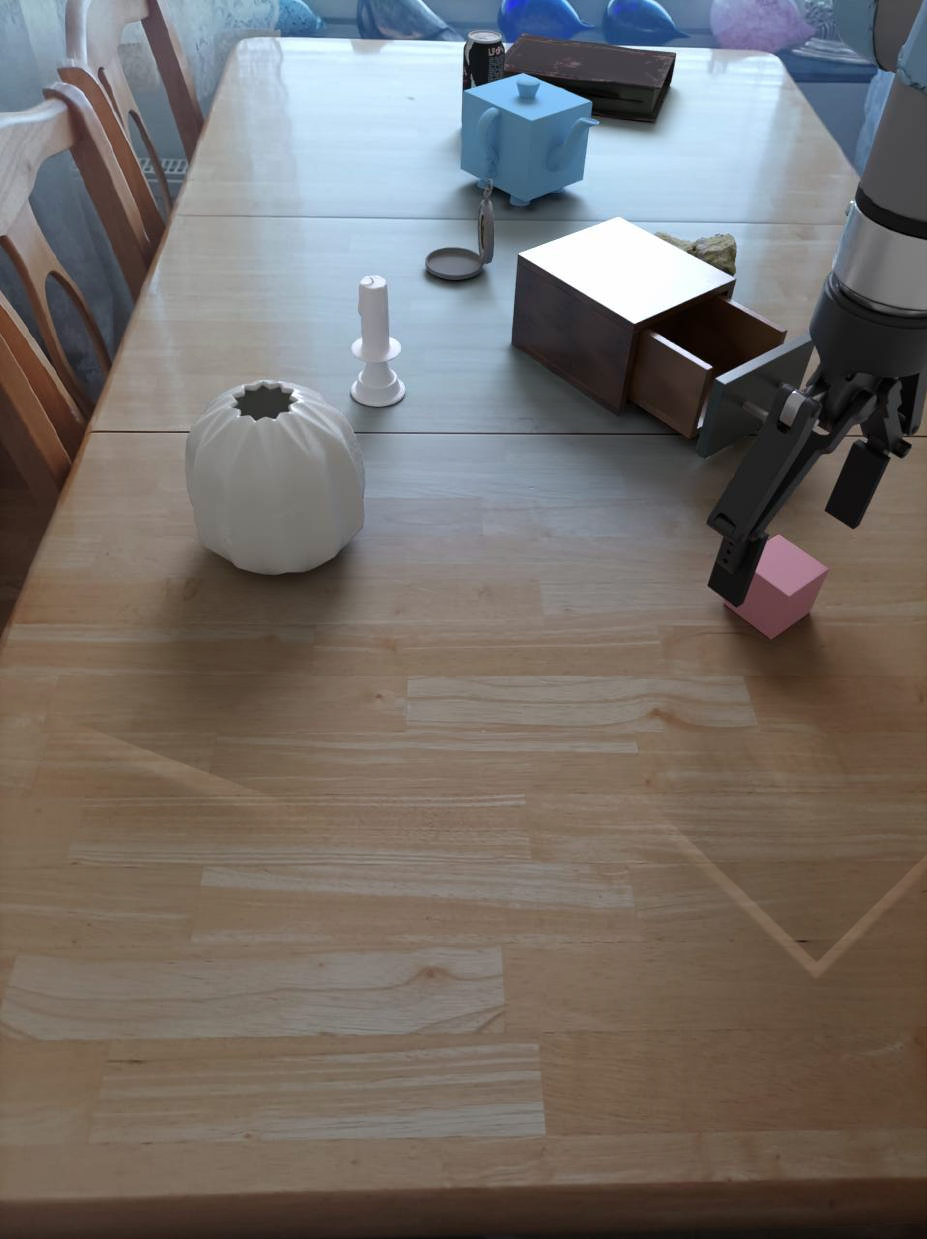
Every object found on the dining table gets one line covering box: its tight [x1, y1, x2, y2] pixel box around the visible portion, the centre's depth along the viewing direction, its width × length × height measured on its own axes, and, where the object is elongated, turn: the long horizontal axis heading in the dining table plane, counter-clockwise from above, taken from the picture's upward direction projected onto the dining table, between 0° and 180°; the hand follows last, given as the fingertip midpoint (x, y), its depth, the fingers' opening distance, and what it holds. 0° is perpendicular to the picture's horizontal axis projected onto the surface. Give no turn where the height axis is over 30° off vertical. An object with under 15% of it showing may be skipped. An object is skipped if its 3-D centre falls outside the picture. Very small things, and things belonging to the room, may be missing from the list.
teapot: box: [460, 73, 600, 207], centre depth 117 cm, size 18×16×13 cm
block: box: [723, 534, 830, 640], centre depth 72 cm, size 5×5×5 cm
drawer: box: [627, 294, 815, 460], centre depth 87 cm, size 18×13×8 cm
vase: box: [184, 378, 367, 576], centre depth 72 cm, size 14×14×13 cm
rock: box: [653, 231, 738, 278], centre depth 106 cm, size 11×6×10 cm
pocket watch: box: [424, 179, 496, 281], centre depth 104 cm, size 8×8×10 cm
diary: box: [504, 32, 677, 123], centre depth 145 cm, size 19×25×5 cm
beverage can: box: [461, 29, 506, 123], centre depth 131 cm, size 6×6×12 cm
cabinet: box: [510, 216, 737, 417], centre depth 93 cm, size 16×14×10 cm
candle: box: [350, 274, 407, 408], centre depth 87 cm, size 5×5×12 cm
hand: (785, 555), depth 69 cm, fingers open, 13 cm apart
